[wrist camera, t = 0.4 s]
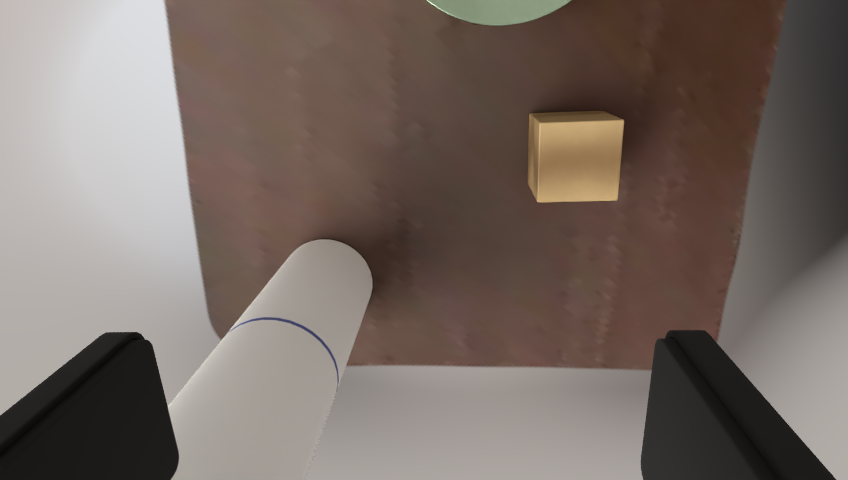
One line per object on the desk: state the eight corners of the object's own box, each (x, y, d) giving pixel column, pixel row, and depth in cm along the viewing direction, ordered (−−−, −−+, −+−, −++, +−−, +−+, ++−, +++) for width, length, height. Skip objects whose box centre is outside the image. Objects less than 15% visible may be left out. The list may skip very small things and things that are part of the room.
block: (529, 113, 36) (539, 122, 32) (603, 110, 36) (624, 119, 31) (527, 183, 38) (537, 202, 33) (598, 181, 38) (617, 200, 33)
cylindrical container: (390, 277, 41) (301, 579, 18) (337, 337, 43) (195, 676, 20) (317, 221, 40) (117, 465, 17) (266, 285, 42) (26, 582, 19)
